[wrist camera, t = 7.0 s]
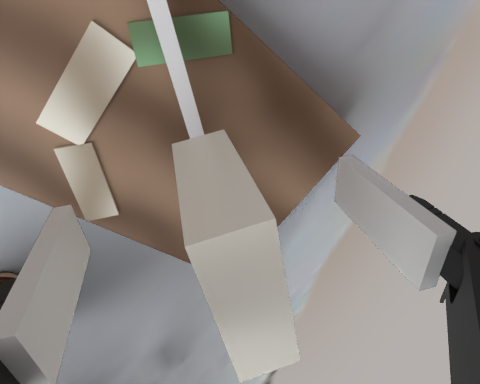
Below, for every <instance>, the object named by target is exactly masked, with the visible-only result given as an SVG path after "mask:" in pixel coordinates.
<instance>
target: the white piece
mask: <svg viewBox="0 0 480 384" xmlns="http://www.w3.org/2000/svg"><path fill="white" fill-rule="evenodd" d="M147 3H148V6H149V9H150V13H151V16H152V19H153V22H154V25H155V29H156V32H157V35H158V38H159V41H160V45H161V48H162V51H163V54H164V57H165V61H166V64H167V67H168V70H169V73H170V77H171V80H172V83H173V86H174V89H175V93H176V96H177V99H178V102H179V105H180V108H181V112H182V115H183V118H184V121H185V124H186V128H187V131H188V134H189V137H190V139H188V140H184V141H181V142H177V143H174V144H172V151H173V159H174V167H175V175H176V183H177V191H178V199H179V206H180V214H181V222H182V230H183V238H184V246H185V249H186V252H187V254H188V257H189V259H190V261H191V264H192V266H193V269H194V271H195V274H196V276H197V279H198V281H199V283H200V286H201V288H202V291H203V293H204V296H205V298H206V301H207V303H208V305H209V308H210V310H211V313H212V315H213V318H214V320H215V323H216V325H217V327H218V330H219V332H220V335H221V337H222V340H223V342H224V345H225V347H226V350H227V352H228V354H229V357H230V359H231V362H232V364H233V367H234V369H235V372H236V374H237V376H238V379H239V381H240V383H242V382H244V381H247V380H250V379H253V378H255V377H258V376H261V375H264V374H266V373H269V372H272V371H275V370H277V369H280V368H283V367H285V366H288V365H291V364H294V363H296V362H299V361H300V355H299V350H298V343H297V338H296V332H295V326H294V321H293V315H292V309H291V303H290V298H289V292H288V286H287V281H286V275H285V269H284V263H283V258H282V252H281V246H280V241H279V235H278V229H277V223H276V218H275V216H274V215H273V213H272V211H271V209H270V208H269V206H268V204H267V203H266V201H265V199H264V197H263V196H262V194H261V192H260V190H259V189H258V187H257V185H256V184H255V182H254V180H253V178H252V177H251V175H250V173H249V172H248V170H247V168H246V166H245V165H244V163H243V161H242V159H241V158H240V156H239V154H238V153H237V151H236V149H235V147H234V146H233V144H232V142H231V141H230V139H229V137H228V135H227V134H226V132H225V130H224V129H223V130H220V131H216V132H212V133H209V134H205V135H204V131H203V128H202V124H201V121H200V117H199V114H198V110H197V107H196V103H195V100H194V96H193V92H192V89H191V85H190V82H189V78H188V75H187V71H186V68H185V64H184V61H183V57H182V54H181V50H180V47H179V43H178V39H177V36H176V32H175V29H174V25H173V22H172V18H171V15H170V11H169V8H168V4H167V1H166V0H147Z"/></svg>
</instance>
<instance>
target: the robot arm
mask: <svg viewBox="0 0 480 384" xmlns="http://www.w3.org/2000/svg"><path fill="white" fill-rule="evenodd" d="M334 202H335V203H336V204H337V205H338V206H339V207H340V208H341V209H342V210H343V211H344V212H345V213H346V214H347V216H348V217H349V218H350V219H351V220H352V221H353V222H354V223H355V224H356V225H357V226H358V227H359V228H360V229H361V230H362V231H363V232H364V234H365V235H366V236H367V237H368V238H369V239H370V240H371V241H372V242H373V243H374V244H375V245H376V246H377V247H378V249H379V250H380V251H381V252H382V253H383V254H384V255H385V256H386V257H387V258H388V259H389V260H390V261H391V262H392V263H393V265H394V266H395V267H396V268H397V269H398V270H399V271H400V272H401V273H402V274H403V275H404V276H405V277H406V278H407V279H408V280H409V282H410V283H411V284H412V285H413V286H414V287H415V288H416V289H417V290H418V291H421V290H425V289H429V288H432V287H436V285H437V282H438V279H439V277H440V275H441V276H442V277H443V278H444V279H445V280H446V281H447V284H446V287H445V289H444V292H443V294H442V297H441V299H440V303H443V302H444V300H445V299H446V311H447V326H448V342H449V359H450V374H451V384H480V232H473V233H471V232H470V231H468V230H467V229H465V228H464V227H463V226H461V225H460V224H458V223H457V222H455V221H454V220H453V219H451V218H450V217H448V216H447V215H445V214H442V212H441V211H440V210H438V209H437V208H434V206H433V205H431V204H430V203H428V202H427V201H426V200H424V199H421V198H419V197H416V196H414V195H409V196H408V195H407V194H405V193H404V192H403V191H401V190H400V189H399V188H397V187H396V186H394V185H393V184H392V183H390V182H389V181H388V180H386V179H385V178H384V177H382V176H381V175H379V174H378V173H377V172H375V171H374V170H373V169H371V168H370V167H369V166H367V165H366V164H364V163H363V162H362V161H360V160H359V159H358V158H356V157H355V156H354V155H348V156H342V157H339V161H338V171H337V180H336V189H335V199H334ZM90 253H91V249H90V247H89V245H88V242H87V240H86V238H85V236H84V233H83V231H82V229H81V226H80V224H79V222H78V219H77V217H76V215H75V212H74V210H73V208H72V206H71V205H66V206H61V207H55V208H53V209H52V211H51V213H50V215H49V216H48V218H47V220H46V222H45V224H44V226H43V228H42V230H41V232H40V234H39V236H38V238H37V240H36V242H35V244H34V246H33V248H32V250H31V251H30V253H29V255H28V257H27V259H26V261H25V263H24V265H23V267H22V269H21V271H20V273H19V275H18V277H17V278H15V279H10V280H5V281H4V282H3V283H2V284H1V285H0V384H56V381H57V377H58V374H59V370H60V366H61V362H62V359H63V355H64V351H65V347H66V343H67V340H68V336H69V332H70V328H71V325H72V321H73V317H74V313H75V309H76V306H77V302H78V298H79V294H80V290H81V287H82V283H83V279H84V275H85V272H86V268H87V264H88V260H89V256H90Z"/></svg>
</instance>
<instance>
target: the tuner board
mask: <svg viewBox="0 0 480 384" xmlns="http://www.w3.org/2000/svg"><path fill="white" fill-rule="evenodd" d="M166 1H167V4H168V8H169V11H170V15H171V18H172V22H173V25H174V29H175V32H176V36H177V39H178V43H179V47H180V50H181V54H182V57H183V61H184V64H185V68H186V71H187V75H188V78H189V82H190V85H191V89H192V92H193V96H194V100H195V103H196V107H197V110H198V114H199V117H200V121H201V124H202V128H203V131H204V135H205V134H209V133H212V132H216V131H220V130H223V129H224V130H225V132H226V134H227V135H228V137H229V139H230V141H231V142H232V144H233V146H234V147H235V149H236V151H237V153H238V154H239V156H240V158H241V159H242V161H243V163H244V165H245V166H246V168H247V170H248V172H249V173H250V175H251V177H252V178H253V180H254V182H255V184H256V185H257V187H258V189H259V190H260V192H261V194H262V196H263V197H264V199H265V201H266V203H267V204H268V206H269V208H270V209H271V211H272V213H273V215H274V216H275V218H276V223H277V227H278V226H279V225H280V223H281V222H282V221H283V220H284V219H285V218H286V217H287V216H288V215H289V214H290V212H291V211H292V210H293V209H294V208H295V207H296V206H297V205H298V204H299V203H300V201H301V200H302V199H303V198H304V197H305V196H306V195H307V194H308V193H309V192H310V191H311V189H312V188H313V187H314V186H315V185H316V184H317V183H318V182H319V181H320V180H321V178H322V177H323V176H324V175H325V174H326V173H327V172H328V171H329V170H330V169H331V167H332V166H333V165H334V164H335V163H336V162H337V161H338V160H339V157H342V155H343V154H344V153H345V152H346V151H347V150H348V149H349V148H350V147H351V146H352V144H353V143H354V142H355V141H356V140H357V139H358V138H359V137H360V135H359V134H358V133H357V132H356V131H355V130H354V129H353V128H352V127H351V126H350V125H349V124H348V123H347V122H346V121H345V120H344V119H342V118H341V117H340V116H339V115H338V114H337V113H336V112H335V111H334V110H333V109H332V108H331V107H330V106H329V105H328V104H327V103H326V102H325V101H324V100H323V99H322V98H320V97H319V96H318V95H317V94H316V93H315V92H314V91H313V90H312V89H311V88H310V87H309V86H308V85H307V84H306V83H305V82H304V81H303V80H302V79H301V78H299V77H298V76H297V75H296V74H295V73H294V72H293V71H292V70H291V69H290V68H289V67H288V66H287V65H286V64H285V63H284V62H283V61H282V60H281V59H280V58H279V57H277V56H276V55H275V54H274V53H273V52H272V51H271V50H270V49H269V48H268V47H267V46H266V45H265V44H264V43H263V42H262V41H261V40H260V39H259V38H258V37H257V36H255V35H254V34H253V33H252V32H251V31H250V30H249V29H248V28H247V27H246V26H245V25H244V24H243V23H242V22H241V21H240V20H239V19H238V18H237V17H236V16H235V15H233V14H232V13H231V12H230V11H229V10H228V9H227V8H226V7H225V6H224V5H223V4H222V3H221V2H220V1H219V0H166ZM188 139H190V137H189V134H188V131H187V128H186V124H185V121H184V118H183V115H182V112H181V108H180V105H179V102H178V99H177V96H176V93H175V89H174V86H173V83H172V80H171V77H170V73H169V70H168V67H167V64H166V61H165V57H164V54H163V51H162V48H161V45H160V41H159V38H158V35H157V32H156V29H155V25H154V22H153V19H152V16H151V13H150V9H149V6H148V3H147V0H0V185H1V186H3V187H6V188H8V189H11V190H13V191H16V192H18V193H21V194H23V195H25V196H28V197H30V198H33V199H35V200H38V201H40V202H42V203H45V204H47V205H50V206H52V207H61V206H66V205H71V206H72V208H73V210H74V212H75V215H76V217H79V218H81V219H84V220H86V222H87V221H89V222H91V223H93V224H96V225H98V226H101V227H103V228H106V229H108V230H110V231H113V232H115V233H118V234H120V235H123V236H125V237H127V238H130V239H132V240H135V241H137V242H140V243H142V244H144V245H147V246H149V247H152V248H154V249H157V250H159V251H161V252H164V253H166V254H169V255H171V256H174V257H176V258H178V259H181V260H183V261H186V262H188V263H191V261H190V259H189V257H188V254H187V252H186V249H185V246H184V238H183V230H182V222H181V214H180V206H179V199H178V191H177V183H176V175H175V167H174V159H173V151H172V144H174V143H177V142H181V141H184V140H188Z"/></svg>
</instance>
